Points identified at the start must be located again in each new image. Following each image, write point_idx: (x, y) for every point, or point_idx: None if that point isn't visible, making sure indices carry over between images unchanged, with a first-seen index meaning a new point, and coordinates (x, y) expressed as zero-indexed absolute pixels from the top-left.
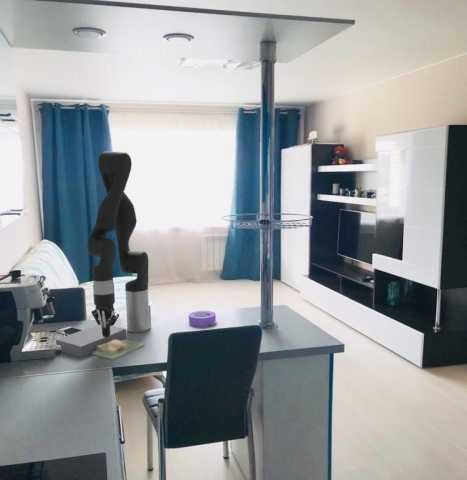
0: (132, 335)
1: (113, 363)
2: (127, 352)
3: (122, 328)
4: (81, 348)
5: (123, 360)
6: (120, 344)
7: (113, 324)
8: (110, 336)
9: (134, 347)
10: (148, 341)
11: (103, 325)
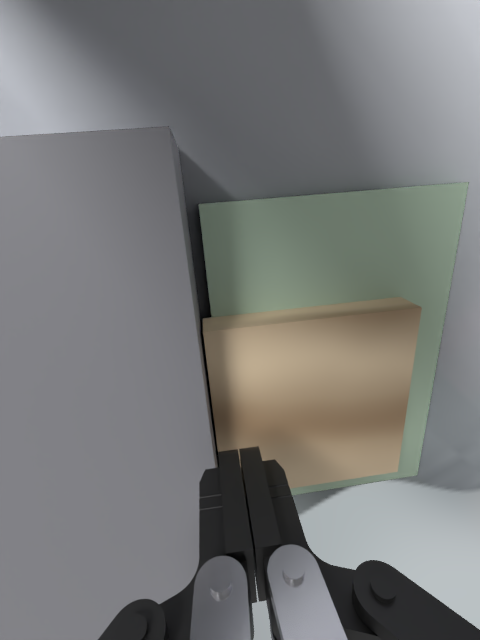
0: (138, 8)
1: (440, 485)
2: (432, 370)
3: (102, 140)
4: None
5: (467, 437)
6: (362, 379)
7: (406, 589)
8: (205, 387)
9: (432, 290)
10: (430, 64)
11: (250, 631)
